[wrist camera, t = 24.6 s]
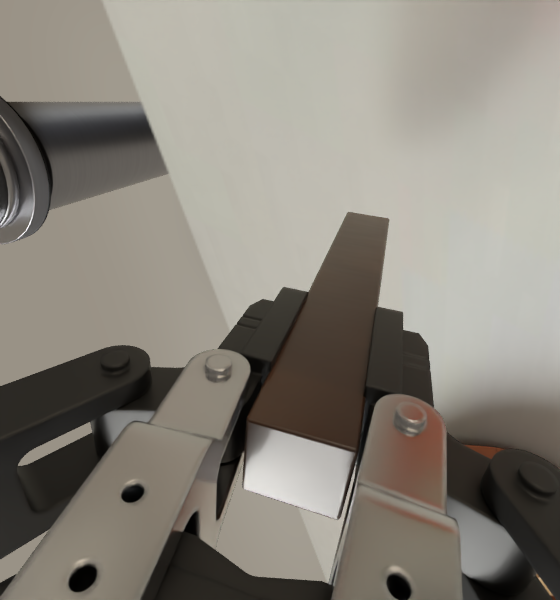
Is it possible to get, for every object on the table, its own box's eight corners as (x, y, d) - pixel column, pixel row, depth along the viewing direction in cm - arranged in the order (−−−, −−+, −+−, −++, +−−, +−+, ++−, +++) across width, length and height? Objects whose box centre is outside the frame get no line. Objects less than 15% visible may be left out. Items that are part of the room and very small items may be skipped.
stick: (340, 250, 20) (241, 489, 8) (347, 211, 19) (245, 418, 7) (380, 257, 19) (339, 522, 7) (389, 218, 18) (359, 451, 6)
